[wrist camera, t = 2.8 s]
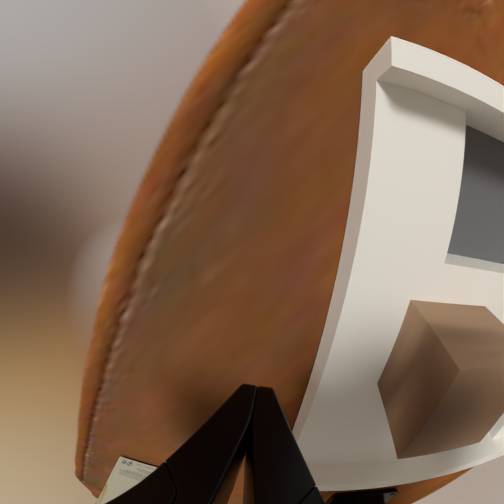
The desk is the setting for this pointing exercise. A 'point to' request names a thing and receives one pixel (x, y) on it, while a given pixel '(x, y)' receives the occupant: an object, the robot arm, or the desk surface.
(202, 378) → the desk surface
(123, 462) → the skincare box
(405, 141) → the platform
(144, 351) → the desk surface
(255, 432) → the robot arm
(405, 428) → the block
